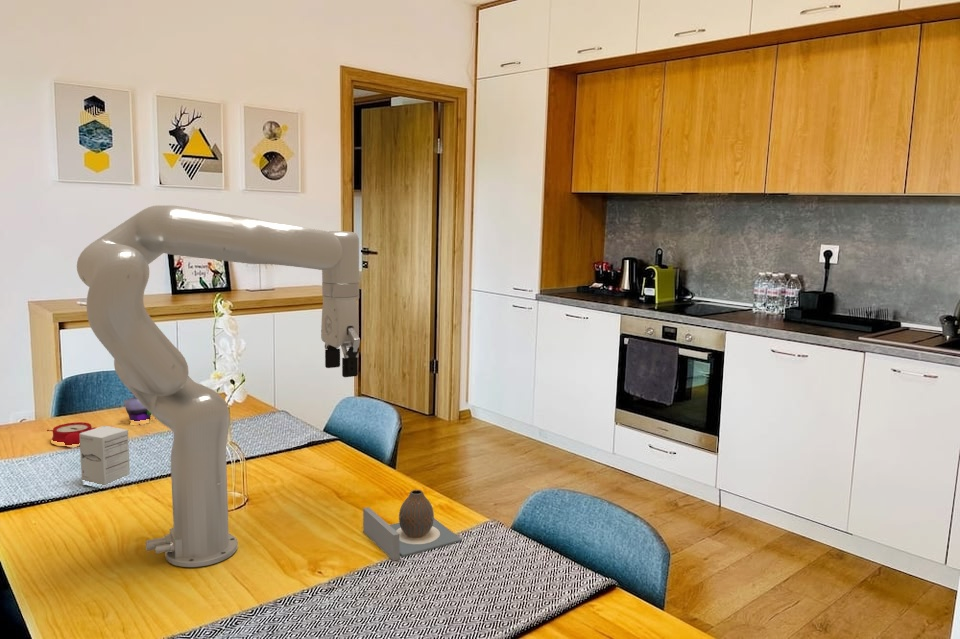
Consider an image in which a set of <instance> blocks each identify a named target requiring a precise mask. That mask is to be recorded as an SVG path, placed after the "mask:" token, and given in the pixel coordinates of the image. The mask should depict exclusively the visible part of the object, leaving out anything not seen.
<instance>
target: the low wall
mask: <svg viewBox="0 0 960 639" xmlns="http://www.w3.org/2000/svg"><path fill="white" fill-rule="evenodd" d="M362 509H363V510H362V511H363V515H362V516H363V517H362V518H363V519H362V521H363V522H362V524H363V525H362V528H363V529H362V531H363V533H364V534H365V535H366V536H367V537H368V538H369V539H370V540H371V541H372V542H373V543H374V544H375V545H376V546H377V547H378V548H379V549H381V550H382V551H383V553H385V555H387V556H388V557H389V558H390V559H391V561H393V562H394V561H399V560H400V554H399V543H400V534H399V533H398V532H397V531H396V530H394V529H393V528H392V527H391V526H390V525H391V524H389V523H388V522H386V521H385V520H384V519H383V518H382V517H381V516H380V515H378V513H376V512H375V511H374V510H373V509H371V507H369V506H367V507H363V508H362Z"/></svg>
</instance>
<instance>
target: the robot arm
mask: <svg viewBox="0 0 960 639" xmlns="http://www.w3.org/2000/svg"><path fill="white" fill-rule="evenodd" d="M163 254H167V255H172V256H179V257H189V258H197V259H207V260H215V261H223V262H231V263H241V264H249V265H277V266H283V267H284V266H285V267H287V266H288V267H294V268H295V267H296V268H304V269H311V270H319V271H321V276H322V277H321V282H322V283H321V287H322V288H321V289H322V290H321V291H322V293H321V295H322V299H323V300H322V301H323V302H322V308H321V310H322V311H321V326H320V327H321V330H320V332H321V333H320V336H321V337H320V338H321V341H322V342H323V343H324V353H325V354H324V355H325V356H324V367H325V368H326V369H333V368H340V366H341V371H342V372H341V373H342V374H341V375H342V377H343V378H350V377H353V378H354V377H357V376H359V360H358V359H359V352H360V343H361V339H360V337H359V334H360V333H359V332H360V330H359V328H360V326H359V324H360V323H359V309H358V302H357V301H358V300H359V299H360V238H359V236H358V234H357V233H356V232H353V231H346V230H345V231H344V230H334V231H333V230H332V231H331V230H330V231H326V230H322V229H315V228H309V227H302V226H296V225H289V224H282V223H278V222H277V223H276V222H272V221H267V220H263V219H258V218H253V217H249V216H248V217H247V216H242V215H241V216H240V215H235V214H230V213H229V214H228V213H223V212H216V211H212V210H211V211H209V210H206V209H205V210H204V209H197V208H192V207H186V206H179V205H160V204H159V205H152V206H149V207H145V208H144V209H142V210H141V211H139V212H137V213H136V214H134V215H132V216H131V217H129V218H128V219H126V220H125V221H124V222H122V223H121V224H119V225H117V226H116V227H115V228H113V229H111V230H110V231H108V232H107V233H105V234H104V235H102V236H100V237H99V238H98V239H96V240H94V241H93V242H91V243H89V245H86V247H85V248H84V249H83V250H82V252H80V254H79V256H78V258H77V262H76V271H77V274H78V277H79V279H80V280H81V282H83V284H85V286H87V287H88V291H87V297H86V314H87V315H86V316H87V321H88V323H89V326H90V329H91V331H92V332H93V334H94V335H95V337H96V338H97V340H99V342H100V343H101V345H103V347H104V348H105V350H107V352H109V354H110V355H111V357H112V358H113V359H114V360H113V367H114V370H115V373H116V375H117V377H118V379H119V380H120V382H121V383H122V384H123V385H124V386H125V387H126V388H127V390H129V392H130V393H131V392H132V395H133V397H134V396H135V397H136V398H137V399H138V400H139V401H140V402H141V403H142V404H143V405H144V407H145V408H146V409H147V410H148V411H149V412H150V413H151V416H153V417H154V418H155V419H156V420H157V421H158V422H159V423H161V424H162V425H164V426H165V427H166V428H169V429H170V430H172V432H173V441H172V447H171V453H170V476H171V477H170V478H171V499H172V502H171V504H172V523H173V524H172V525H173V527H172V528H169V534H165V535H164V536H163V537H159V538H152V539H148V540H145V550H146V552H151V551H154V550H155V554H156V555H157V554H163V553H164V554H165V556H164V557H165V559H166V561H167V562H168V563H170V564H171V565H174V566H177V567H180V568H181V567H183V568H200V567H206V566H211V565H215V564H217V563H220V562H222V561H225V560H227V559H228V558H230V557H232V556H233V555H234V554H235V552H236V551H237V549H238V548H239V546H238V539H237V538H236V536H234V535H233V534H231V533H230V531H229V504H228V501H229V498H228V497H229V496H228V469H227V468H228V467H227V445H228V444H227V443H228V441H227V440H228V434H229V426H230V420H231V419H230V410H229V407H228V404H227V402H226V400H225V399H224V397H222V396H221V395H220V394H219V393H218V392H217V391H215V390H214V389H212V388H209V387H208V386H205V385H203V384H200V383H199V382H195V381H194V380H193V379H192V377H190V376H189V366H188V362H187V360H186V358H185V356H184V354H182V352H181V351H180V350H179V349H178V348H177V347H176V346H175V345H174V344H173V343H172V342H171V340H170V339H169V338H168V337H167V336H166V335H165V334H164V332H163V331H162V330H161V329H160V328H159V326H158V325H157V324H156V323H155V321H154V320H153V319H152V317H151V316H150V315H149V313H148V311H147V310H146V308H145V303H144V295H145V290H146V287H147V285H148V282H149V278H150V267H149V265H150V264H151V263H153V262H154V261H156V259H158V258H159V257H160V256H162V255H163ZM339 347H341V348H339ZM341 352H342V354H343V357H342V358H341ZM341 360H342V361H341ZM341 362H342V363H341Z"/></svg>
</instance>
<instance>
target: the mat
mask: <svg viewBox="0 0 960 639" xmlns="http://www.w3.org/2000/svg"><path fill="white" fill-rule="evenodd" d="M389 525H390V526H391V527H392V528H393V529H394V530H396V531H397V532H398V533H399V534H400V543H399V556H400V557H402V558H404V557H408V556H412V555H416V554H420V553H424V552H427V551H426V550H428V551H431V550H434V549H433V548H435V549H439V548H442V547H441V546H443V547H446V546H445V545H447V546H449V544H450V545H453V544H452V543H454V544H456V543H455V542H458V543H461V542H460V541H462V542H463V539H462V538H461V537H460V536H458V535H456V534H455V533H454V532H453V531H451V529H449V528H448V527H446V526H445V525H444V524H442V523H441V522H440V521H439V520H438V519H436V518H435V517H434V521H433V525H432V528H431V530H430V531H429V532H428V533H427V534H426V535H425V536H423V537H420V538H412V537H409V536H407V535H406V534H405V533H404V532H403V531H402V529H401V527H400V523H399V522H396V523H392V524H389ZM438 547H439V548H438ZM430 549H431V550H430ZM423 551H424V552H423Z"/></svg>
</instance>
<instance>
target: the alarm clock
mask: <svg viewBox="0 0 960 639" xmlns="http://www.w3.org/2000/svg"><path fill="white" fill-rule="evenodd" d="M95 428H96V427H92V424H91V423H89V422H82V421H80V422H79V421H78V422H67V423H64V424H63V423H62V424H58V425H56V426H54V427H53V428H52V429H47V430H46V431H47V432H52V438H51V440H53V441H57V442H64V443H65V445H72V444H79V443H80V436H79V434H80V433H82V432H86V431H89V430H92V429H95Z"/></svg>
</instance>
